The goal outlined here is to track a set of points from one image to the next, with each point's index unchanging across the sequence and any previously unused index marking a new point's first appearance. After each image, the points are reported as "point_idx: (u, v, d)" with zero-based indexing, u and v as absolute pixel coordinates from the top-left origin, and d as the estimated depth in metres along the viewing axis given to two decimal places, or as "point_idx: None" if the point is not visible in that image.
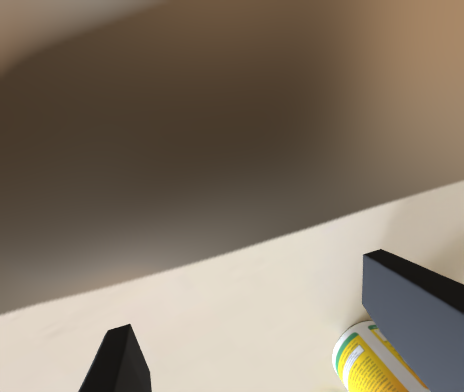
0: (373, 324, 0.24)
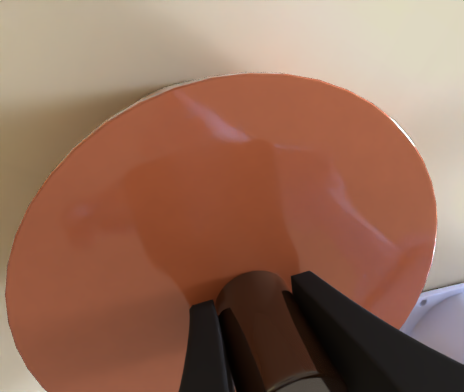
0: None
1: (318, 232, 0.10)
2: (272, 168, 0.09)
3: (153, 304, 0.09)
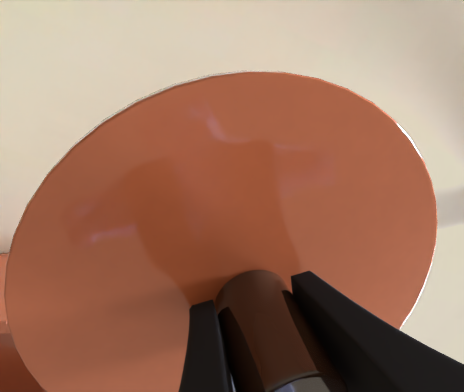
0: None
1: (318, 231, 0.10)
2: (271, 167, 0.09)
3: (152, 304, 0.09)
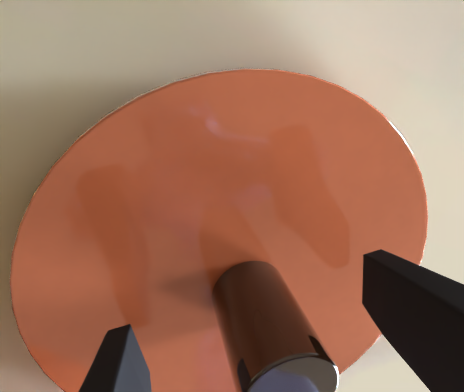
0: None
1: (311, 224, 0.10)
2: (266, 161, 0.09)
3: (152, 293, 0.10)
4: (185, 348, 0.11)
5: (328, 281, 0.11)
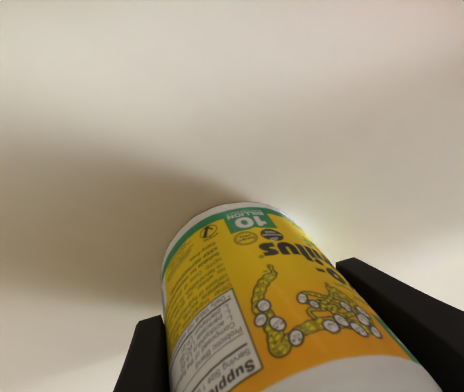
0: None
1: None
2: None
3: None
4: None
5: None
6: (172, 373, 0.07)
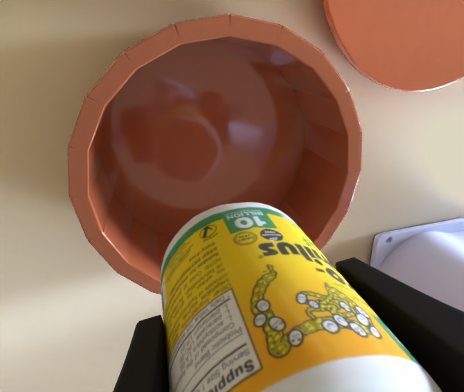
0: None
1: None
2: None
3: None
4: None
5: None
6: (171, 373, 0.07)
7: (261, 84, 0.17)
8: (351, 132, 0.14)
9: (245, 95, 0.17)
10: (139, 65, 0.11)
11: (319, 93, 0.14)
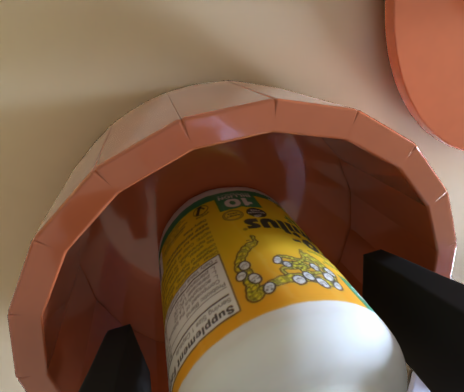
0: None
1: None
2: None
3: None
4: None
5: None
6: (167, 327, 0.08)
7: (298, 154, 0.12)
8: (441, 246, 0.10)
9: (276, 170, 0.12)
10: (123, 187, 0.07)
11: (392, 186, 0.10)
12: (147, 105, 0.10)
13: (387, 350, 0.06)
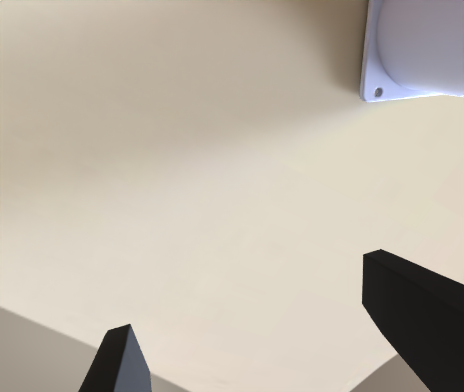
0: None
1: None
2: None
3: None
4: None
5: None
6: None
7: None
8: None
9: None
10: None
11: None
12: None
13: None
